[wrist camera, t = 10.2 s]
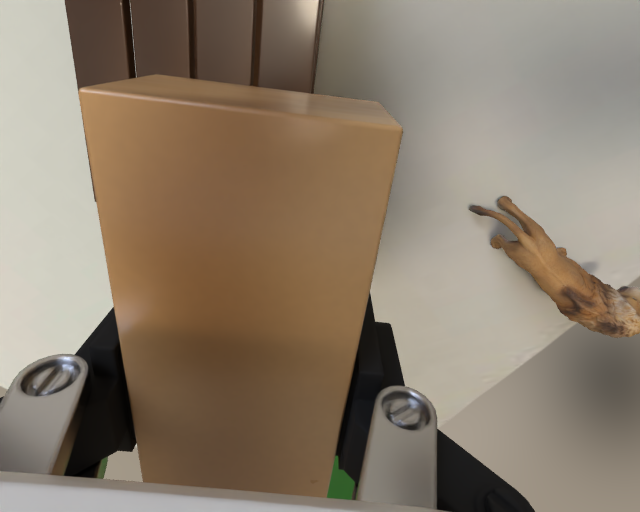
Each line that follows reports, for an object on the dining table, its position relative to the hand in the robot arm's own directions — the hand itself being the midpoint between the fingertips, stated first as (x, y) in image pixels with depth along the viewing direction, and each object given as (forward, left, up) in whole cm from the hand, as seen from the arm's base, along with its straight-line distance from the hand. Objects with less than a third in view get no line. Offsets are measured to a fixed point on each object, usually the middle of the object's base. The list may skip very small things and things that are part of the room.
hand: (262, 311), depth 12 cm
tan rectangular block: (0, 0, -1) cm, 1 cm away
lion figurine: (-23, 0, -23) cm, 33 cm away
